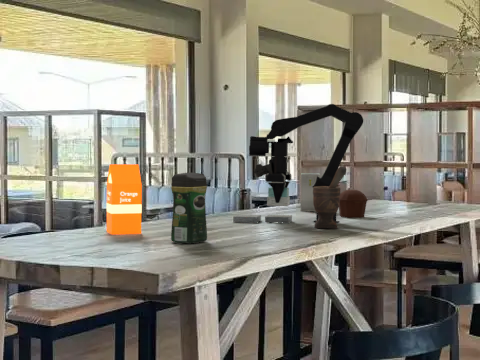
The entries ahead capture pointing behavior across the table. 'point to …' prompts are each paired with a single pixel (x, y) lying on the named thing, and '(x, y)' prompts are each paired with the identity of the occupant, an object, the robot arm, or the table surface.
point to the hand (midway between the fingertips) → (278, 202)
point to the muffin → (352, 204)
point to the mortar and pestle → (328, 201)
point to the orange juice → (124, 199)
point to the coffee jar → (189, 208)
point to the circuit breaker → (307, 191)
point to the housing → (283, 201)
